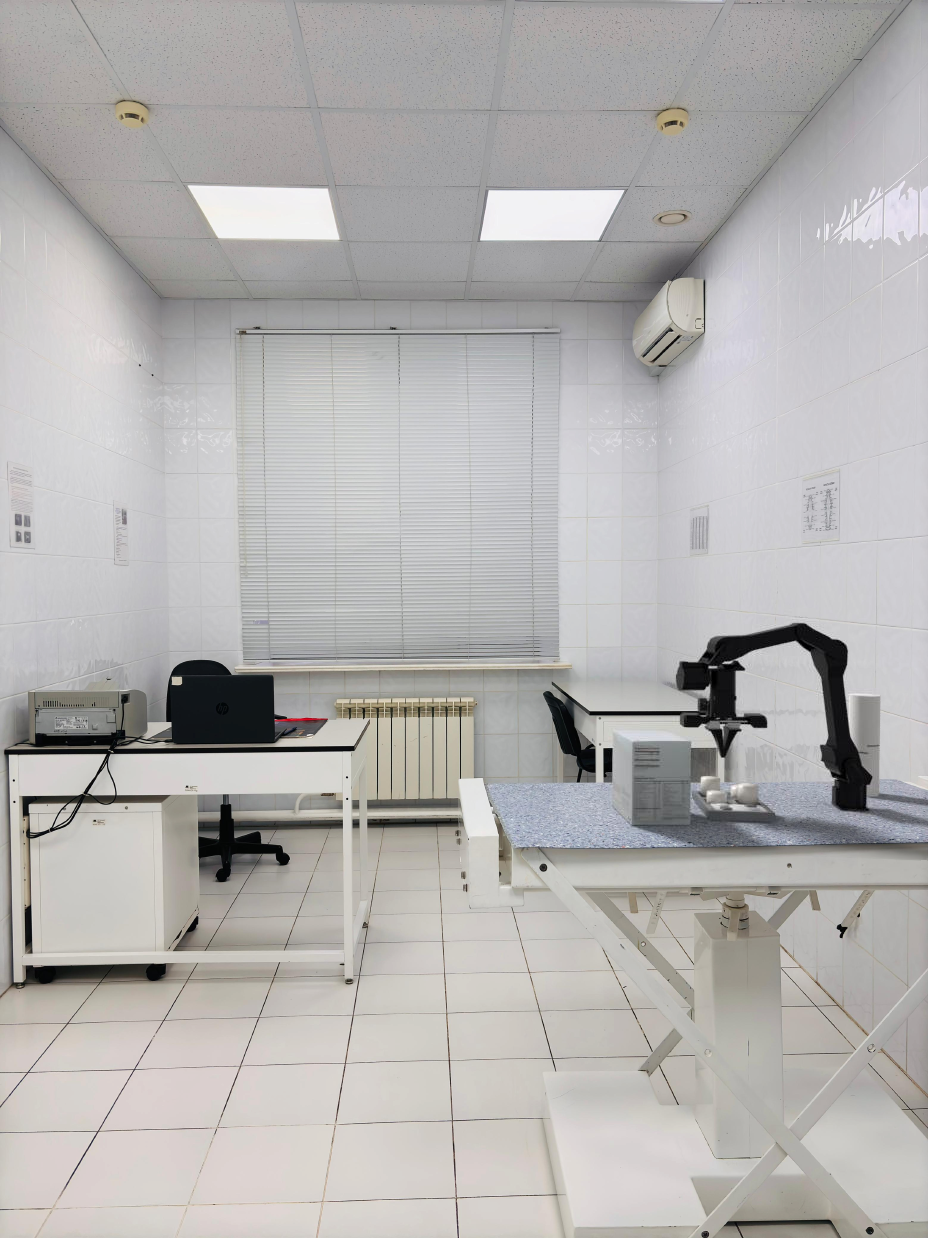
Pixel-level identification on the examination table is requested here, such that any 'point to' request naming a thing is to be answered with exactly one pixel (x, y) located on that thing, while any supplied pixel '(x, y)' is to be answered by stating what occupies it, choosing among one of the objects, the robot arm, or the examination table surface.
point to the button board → (733, 809)
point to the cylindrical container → (866, 734)
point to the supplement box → (651, 777)
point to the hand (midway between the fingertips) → (722, 757)
